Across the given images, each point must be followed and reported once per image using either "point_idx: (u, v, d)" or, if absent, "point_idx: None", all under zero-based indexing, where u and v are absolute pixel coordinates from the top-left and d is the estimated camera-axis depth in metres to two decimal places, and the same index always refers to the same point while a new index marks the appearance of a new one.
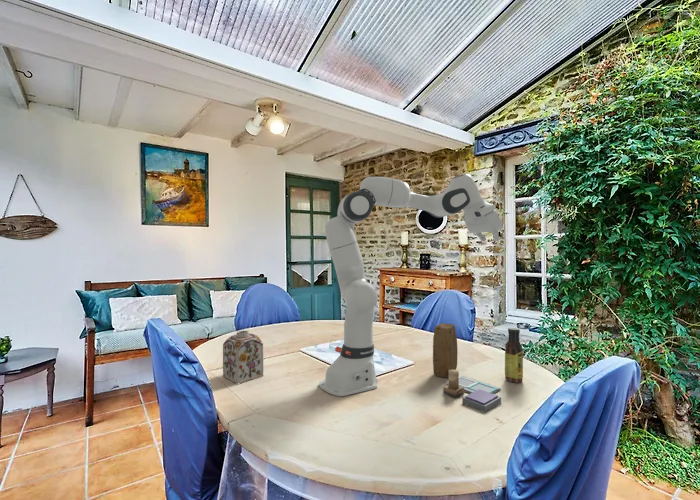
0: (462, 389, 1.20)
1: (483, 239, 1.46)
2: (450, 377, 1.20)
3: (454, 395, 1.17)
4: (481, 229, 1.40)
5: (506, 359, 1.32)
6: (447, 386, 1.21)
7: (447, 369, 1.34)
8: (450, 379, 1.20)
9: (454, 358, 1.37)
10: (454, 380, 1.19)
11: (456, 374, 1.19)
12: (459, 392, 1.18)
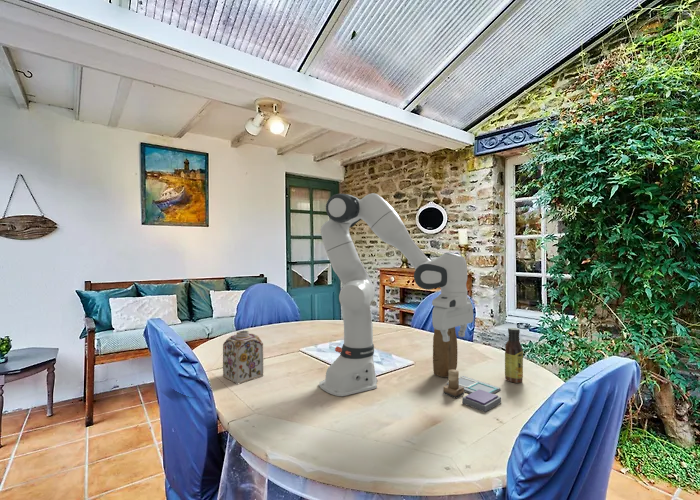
0: (462, 389, 1.20)
1: (459, 334, 1.23)
2: (450, 377, 1.20)
3: (454, 395, 1.17)
4: None
5: (506, 359, 1.32)
6: (447, 386, 1.21)
7: (447, 369, 1.34)
8: (450, 379, 1.20)
9: (454, 358, 1.37)
10: (454, 380, 1.19)
11: (456, 374, 1.19)
12: (459, 392, 1.18)
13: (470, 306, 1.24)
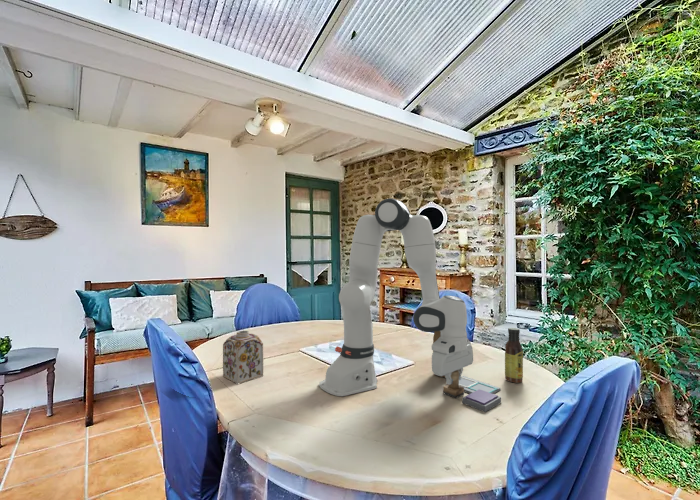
0: (462, 389, 1.20)
1: None
2: None
3: (454, 395, 1.17)
4: None
5: (506, 359, 1.32)
6: (447, 386, 1.21)
7: None
8: None
9: None
10: (454, 380, 1.19)
11: (456, 374, 1.19)
12: (459, 392, 1.18)
13: (470, 348, 1.24)
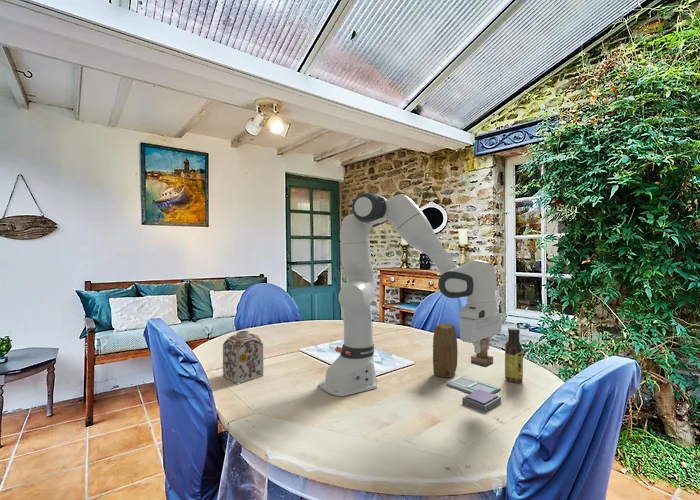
0: (491, 358, 1.12)
1: None
2: None
3: (483, 364, 1.10)
4: None
5: (506, 359, 1.32)
6: (475, 355, 1.14)
7: (447, 369, 1.34)
8: None
9: (454, 358, 1.37)
10: (483, 349, 1.12)
11: (485, 342, 1.12)
12: (488, 361, 1.11)
13: (498, 316, 1.17)
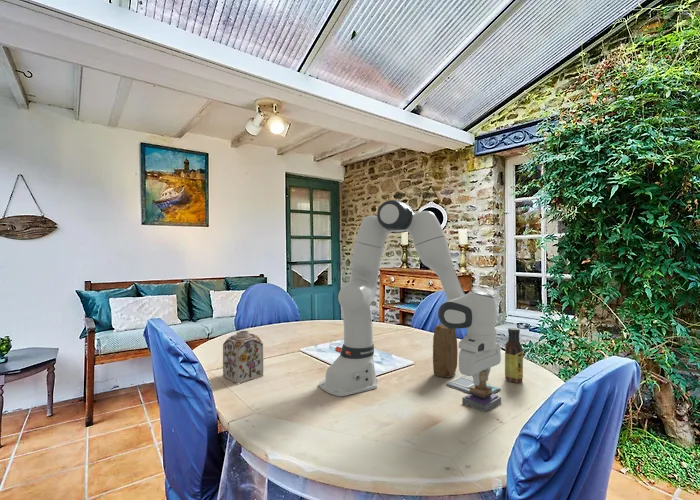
0: (490, 389, 1.13)
1: None
2: None
3: (482, 396, 1.10)
4: None
5: (506, 359, 1.32)
6: (474, 386, 1.14)
7: (447, 369, 1.34)
8: None
9: (454, 358, 1.37)
10: (482, 380, 1.12)
11: (484, 373, 1.12)
12: (487, 393, 1.11)
13: (498, 347, 1.17)
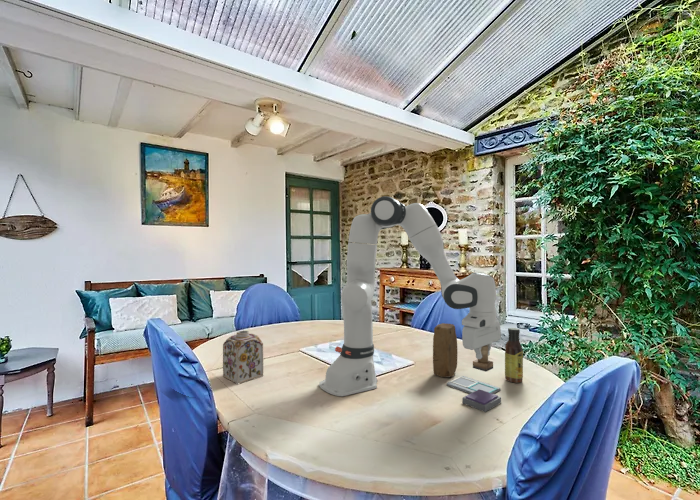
0: (491, 363, 1.22)
1: None
2: None
3: (484, 368, 1.20)
4: None
5: (506, 359, 1.32)
6: (476, 360, 1.23)
7: (447, 369, 1.34)
8: None
9: (454, 358, 1.37)
10: (484, 354, 1.21)
11: (486, 348, 1.21)
12: (489, 366, 1.21)
13: (498, 324, 1.26)
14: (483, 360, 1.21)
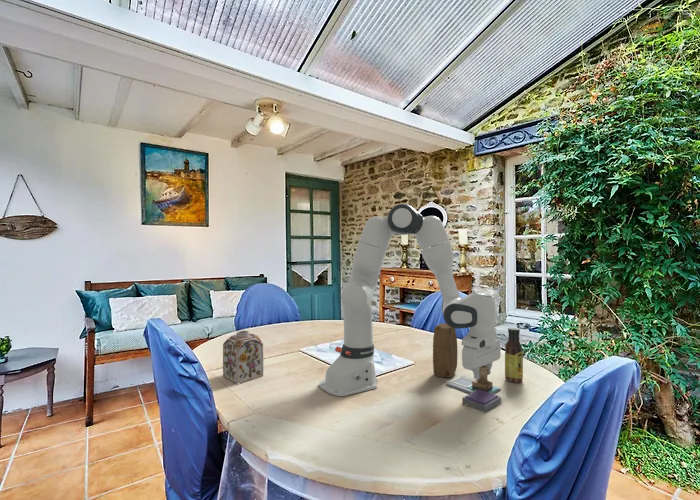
0: (491, 384, 1.22)
1: None
2: (479, 372, 1.22)
3: (483, 389, 1.20)
4: None
5: (506, 359, 1.32)
6: (476, 381, 1.24)
7: (447, 369, 1.34)
8: None
9: (454, 358, 1.37)
10: (483, 375, 1.21)
11: (485, 369, 1.21)
12: (488, 386, 1.21)
13: (497, 343, 1.26)
14: (482, 381, 1.21)
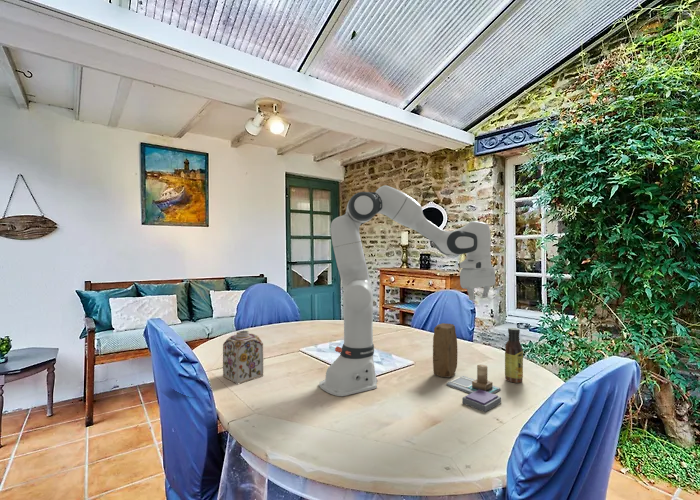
0: (491, 384, 1.22)
1: (483, 295, 1.37)
2: (479, 372, 1.22)
3: (483, 389, 1.20)
4: None
5: (506, 359, 1.32)
6: (476, 381, 1.24)
7: (447, 369, 1.34)
8: (479, 374, 1.22)
9: (454, 358, 1.37)
10: (483, 375, 1.21)
11: (485, 369, 1.21)
12: (488, 386, 1.21)
13: (493, 270, 1.38)
14: (482, 381, 1.21)
